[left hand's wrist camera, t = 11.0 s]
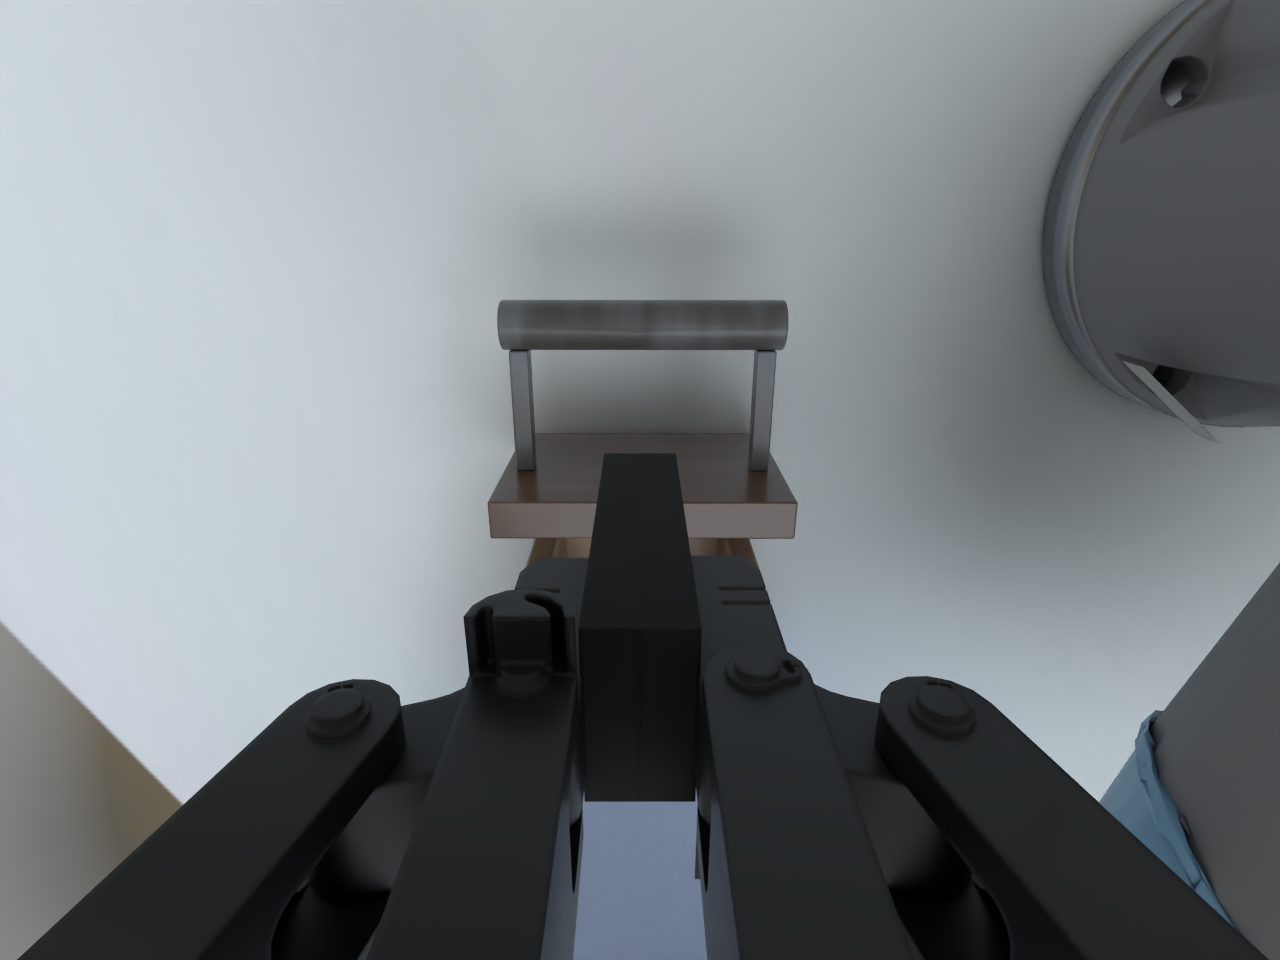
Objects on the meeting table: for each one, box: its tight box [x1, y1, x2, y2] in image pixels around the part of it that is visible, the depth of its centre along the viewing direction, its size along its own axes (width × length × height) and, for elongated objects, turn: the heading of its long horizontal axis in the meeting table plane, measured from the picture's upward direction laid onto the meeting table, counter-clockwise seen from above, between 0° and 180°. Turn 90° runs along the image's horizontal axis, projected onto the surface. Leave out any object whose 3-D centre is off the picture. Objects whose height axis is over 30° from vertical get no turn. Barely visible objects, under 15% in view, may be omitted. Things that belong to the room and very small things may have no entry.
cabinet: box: [573, 792, 707, 960], centre depth 31 cm, size 21×10×9 cm, turn 0°
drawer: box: [488, 300, 797, 569], centre depth 26 cm, size 26×9×7 cm, turn 0°
